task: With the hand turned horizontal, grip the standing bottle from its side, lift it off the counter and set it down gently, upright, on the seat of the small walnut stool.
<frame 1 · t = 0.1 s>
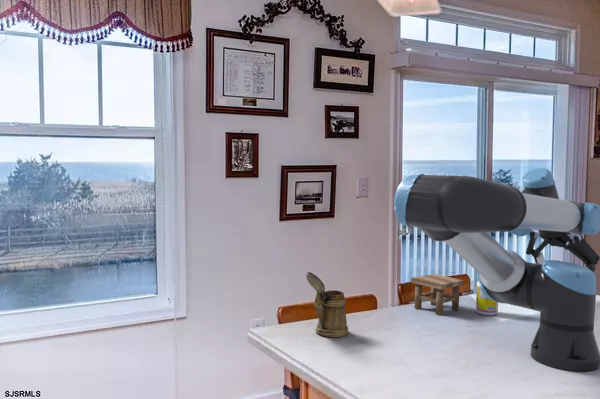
hand: (567, 275, 155), 15 cm above the kitchen island, tool tilted 35°, fingers open, 13 cm apart
supplement bottle: (486, 313, 169), on the kitchen island
wooden mug: (325, 334, 144), on the kitchen island
stool: (436, 309, 172), on the kitchen island
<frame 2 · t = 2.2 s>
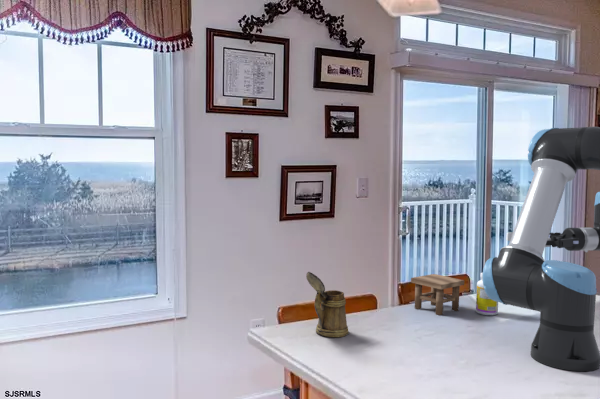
hand: (518, 239, 169), 24 cm above the kitchen island, tool horizontal, fingers open, 13 cm apart
nothing on the kitchen island moved.
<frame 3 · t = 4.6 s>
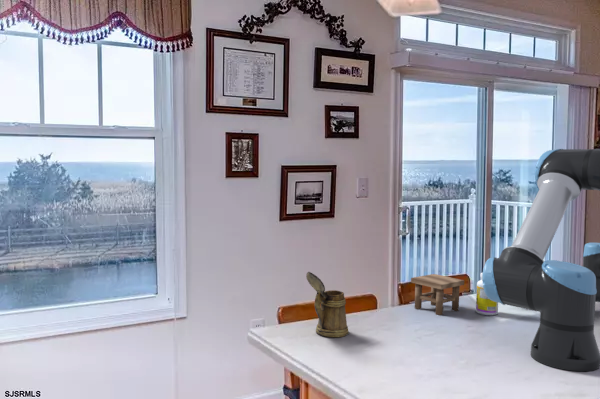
hand: (506, 291, 170), 7 cm above the kitchen island, tool horizontal, fingers open, 13 cm apart
nothing on the kitchen island moved.
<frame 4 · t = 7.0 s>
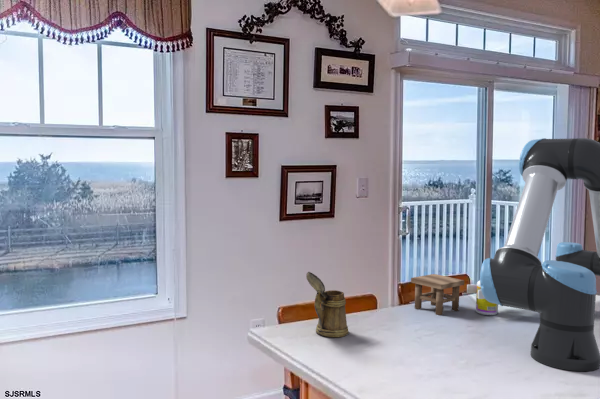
hand: (472, 291, 167), 7 cm above the kitchen island, tool horizontal, fingers closed on supplement bottle, 7 cm apart
supplement bottle: (486, 313, 169), on the kitchen island, touching gripper
everything else where it was.
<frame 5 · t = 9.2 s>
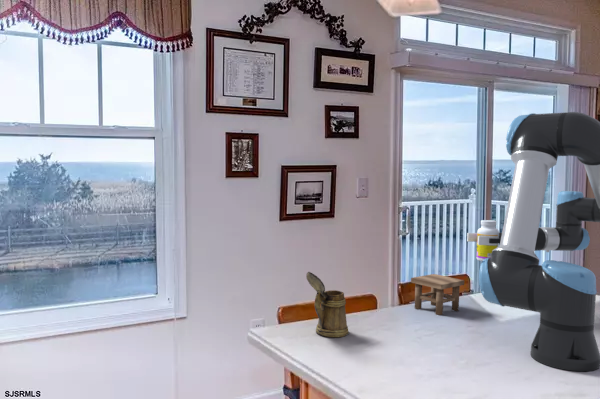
hand: (473, 238, 167), 24 cm above the kitchen island, tool horizontal, fingers closed on supplement bottle, 7 cm apart
supplement bottle: (487, 261, 168), point 17 cm above the kitchen island, touching gripper
everything else where it was.
when the fingers open (18 cm above the kitchen island, at t = 11.5 s): supplement bottle stays where it is, resting on stool.
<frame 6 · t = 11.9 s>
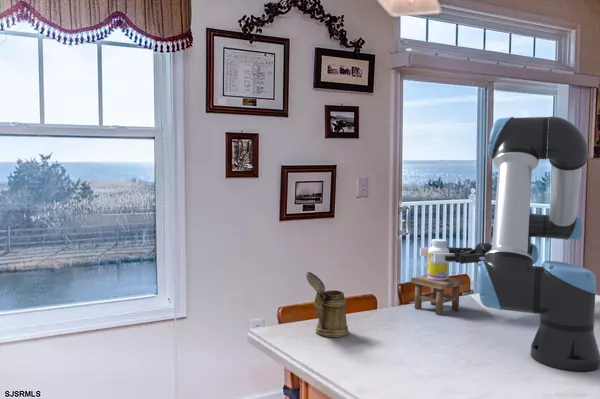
hand: (426, 254, 170), 18 cm above the kitchen island, tool horizontal, fingers open, 11 cm apart
supplement bottle: (437, 279, 171), point 10 cm above the kitchen island, touching stool
everything else where it was.
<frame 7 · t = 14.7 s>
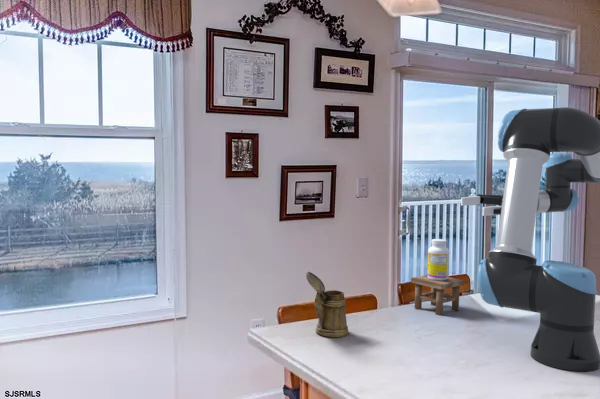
hand: (471, 206, 169), 34 cm above the kitchen island, tool horizontal, fingers open, 13 cm apart
nothing on the kitchen island moved.
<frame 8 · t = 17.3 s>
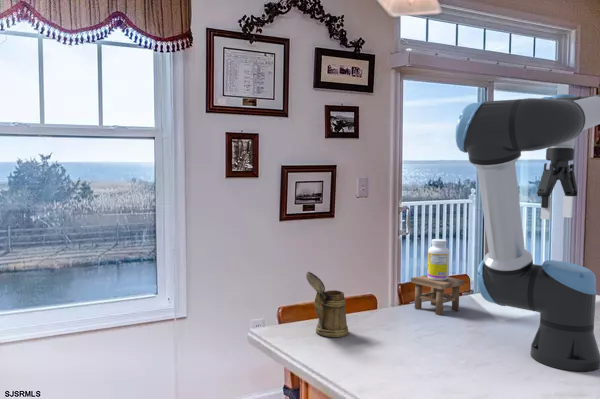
hand: (556, 218, 158), 32 cm above the kitchen island, tool pointing down, fingers open, 13 cm apart
nothing on the kitchen island moved.
at the end: supplement bottle inside the target area on the stool (0.1 cm from its centre), point 9.8 cm above the stool's base; supplement bottle tilted 0°; the gripper is holding nothing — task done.
